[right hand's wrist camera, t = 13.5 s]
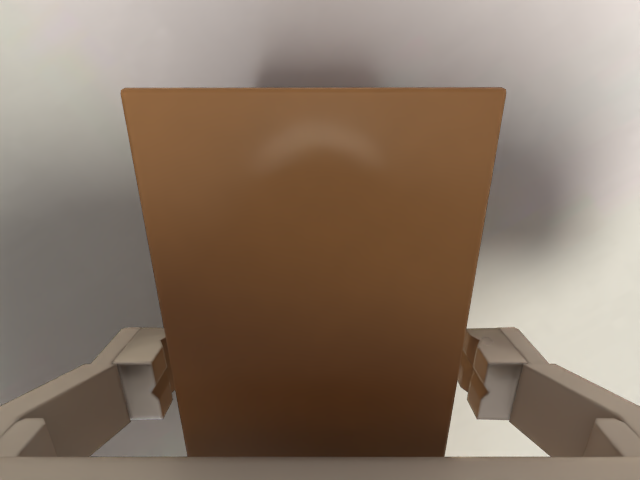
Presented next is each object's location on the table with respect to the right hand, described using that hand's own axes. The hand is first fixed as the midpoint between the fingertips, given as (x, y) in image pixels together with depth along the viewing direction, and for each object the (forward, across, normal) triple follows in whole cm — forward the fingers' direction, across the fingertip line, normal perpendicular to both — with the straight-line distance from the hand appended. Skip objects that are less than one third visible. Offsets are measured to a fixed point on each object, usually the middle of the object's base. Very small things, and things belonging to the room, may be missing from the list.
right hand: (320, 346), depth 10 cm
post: (+5, 0, -27) cm, 28 cm away
